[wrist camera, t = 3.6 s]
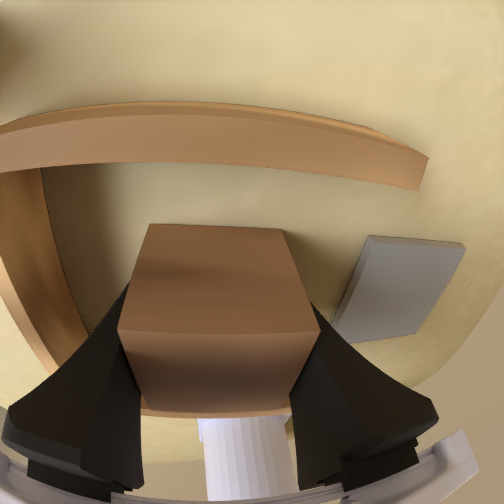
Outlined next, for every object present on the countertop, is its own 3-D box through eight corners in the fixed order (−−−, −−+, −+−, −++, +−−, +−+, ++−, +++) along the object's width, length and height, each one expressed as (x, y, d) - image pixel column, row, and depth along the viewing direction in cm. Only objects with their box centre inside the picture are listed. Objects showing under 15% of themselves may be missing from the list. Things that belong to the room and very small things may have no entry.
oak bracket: (290, 363, 17) (302, 412, 14) (85, 357, 14) (74, 404, 11) (367, 127, 9) (428, 157, 6) (17, 119, 6) (-44, 148, 4)
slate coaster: (411, 327, 17) (415, 333, 16) (324, 338, 15) (326, 346, 15) (460, 243, 13) (466, 249, 12) (368, 235, 12) (374, 242, 11)
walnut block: (261, 317, 14) (280, 409, 10) (159, 315, 13) (149, 410, 9) (281, 229, 11) (320, 330, 7) (149, 224, 10) (117, 329, 6)
